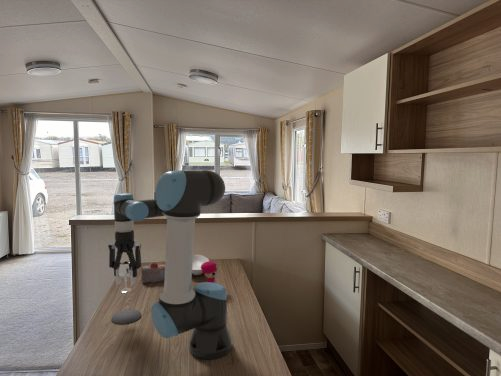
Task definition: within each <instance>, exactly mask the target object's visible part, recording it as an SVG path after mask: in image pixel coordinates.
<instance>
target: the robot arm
mask: <svg viewBox="0 0 501 376" xmlns="http://www.w3.org/2000/svg"><path fill="white" fill-rule="evenodd" d="M154 193H155V198H153V199H140V200H139V199H138V200H134V199H135V198H134V195H133V193H116V194H114V197H113V210H114V211H113V213H114V231H115V232H114V240H115V242H114V243H113V242H112V243H110V244H108V246H107V247H108V251H109V256H108V258H109V260H108V261H109V263H108V265H109V266H108V267H109V268H111V269H113V275H114V277H115V284H116V285H117V286H118V285H120V284H121V283H122V277H120V276H119V273H118V268H119V263H120V262H121V260H122V257H123V254H124V253H125V254H126V255H127V257H128V261H130V264H131V267H132V270H130V275H131V276H130V286H134V285H135V284H136V278H137V276H138V269H141V268H142V254H141V249H142V244H141V243H139V244H137V243H136V242H135V230H134V228H135V225H134V224H135V223H134V222H141V221H143V220H145V219H151V218H159V217H165V218H166V236H165V238H166V239H165V263H164V264H165V280H164V281H163V282H164V283H163V286H164V287H163V288H162V289H161V291H159V294H158V301H155V302H154V303H152V305H151V307H150V315H151V319H152V323H153V326H154V328H155V330H156V332H157V333H158V334H159V335H160V336H161V337H162V338H164V339H169V338H173V337H177V336H179V335H180V334H184V333H186V332H189V331H191V330H192V333H191V336H190V340H189V344H188V347H189V352H190V354H191V355H193V357H195V358H198V359H203V360H214V359H215V360H216V359H219V358H222V357H224V356H226V355H227V354H228V353H230V351H231V349H232V338H231V334H230V331H229V329H228V327H227V323H228V322H227V315H228V314H227V307H228V306H227V304H228V303H227V302H228V301H227V300H228V296H227V295H228V294H227V290H226V289H227V288H225V286H223V285H222V284H219V283H217V282H214V283H211V282H207V281H206V282H205V281H204V282H198V283H195V284H194V286H193V288H192V279H193V274H192V263H193V255H194V244H195V226H196V219H197V218H198V217H200V215H201V207H208V206H212V205H214V204H217V203H218V202H220V201H221V200H222V199H223V198H224V196H225V193H226V184H225V181H224V179H223V178H222V176H221V175H220V174H218V173H217V172H215V171H213V170H209V169H208V170H207V169H203V170H201V169H199V170H197V169H196V170H193V169H192V170H191V169H190V170H187V169H186V170H185V169H184V170H178V169H177V170H172V171H170V170H169V171H166V172H164V173H163V174H161V176H160V177H159V179H158V180H157V183H156V187H155V192H154ZM133 248H134V250H133ZM116 249H117V251H116ZM134 254H135V255H134Z"/></svg>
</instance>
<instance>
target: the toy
mask: <svg viewBox="0 0 501 376" xmlns="http://www.w3.org/2000/svg"><path fill="white" fill-rule="evenodd" d="M201 269H202V274H204V276H205V277H206V278H207V280H206V282H211V283H215V281H216V278H215V276H216V275H217V271H218V267H217V263H216V262H214V261H210V260H209V261H208V262H205V263H203V264H202V265H201Z"/></svg>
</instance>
